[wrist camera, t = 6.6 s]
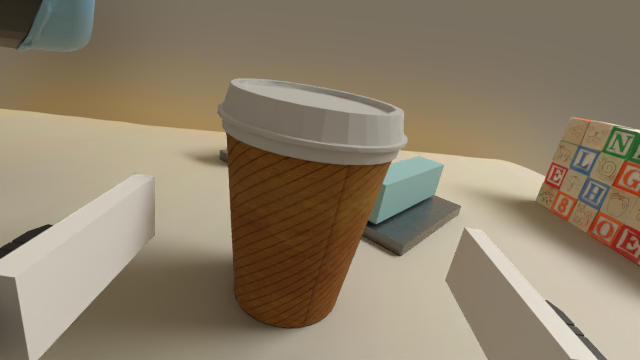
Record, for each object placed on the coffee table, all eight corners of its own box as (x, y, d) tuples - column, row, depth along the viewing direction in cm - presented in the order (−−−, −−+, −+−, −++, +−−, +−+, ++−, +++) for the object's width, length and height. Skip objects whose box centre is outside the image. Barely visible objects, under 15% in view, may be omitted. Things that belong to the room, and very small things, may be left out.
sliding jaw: (434, 194, 38) (444, 164, 37) (376, 224, 29) (386, 185, 27) (411, 184, 40) (419, 156, 39) (348, 210, 30) (356, 172, 29)
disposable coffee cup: (233, 237, 25) (248, 73, 21) (357, 259, 25) (397, 100, 21) (175, 335, 16) (182, 84, 12) (367, 369, 17) (438, 131, 12)
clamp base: (458, 214, 38) (473, 172, 36) (400, 255, 27) (417, 199, 25) (298, 147, 52) (303, 115, 50) (219, 158, 41) (222, 117, 39)
